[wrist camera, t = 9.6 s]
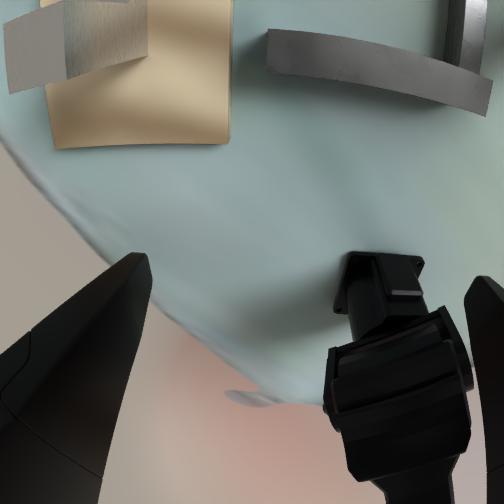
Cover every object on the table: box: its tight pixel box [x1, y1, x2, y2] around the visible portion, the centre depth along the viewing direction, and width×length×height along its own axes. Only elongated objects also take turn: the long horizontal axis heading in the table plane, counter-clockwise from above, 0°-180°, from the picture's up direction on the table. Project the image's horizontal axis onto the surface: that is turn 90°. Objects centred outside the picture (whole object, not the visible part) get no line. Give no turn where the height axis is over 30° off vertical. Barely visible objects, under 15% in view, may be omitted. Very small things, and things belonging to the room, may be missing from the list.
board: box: [40, 0, 234, 149], centre depth 14 cm, size 14×12×1 cm
